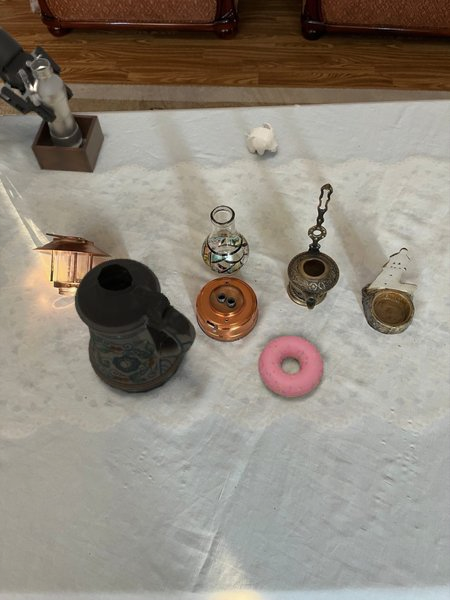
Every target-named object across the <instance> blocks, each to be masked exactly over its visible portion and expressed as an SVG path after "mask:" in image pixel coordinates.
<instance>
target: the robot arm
mask: <svg viewBox="0 0 450 600" xmlns="http://www.w3.org/2000/svg"><path fill="white" fill-rule="evenodd" d="M40 58H44V59H47V60H48V61H49V63H50V65H51V67H52V69H53V73H54V74H56V75H57V76H58V77H60V74H61V72H62V68H61V67H60V66H59V64H57V62H56V61H55V60H54V59H53V58H52V57H51V56H50V54H48V52H46V51H45V49H44V48H43V47H42V46H40V45H37V46H36V47H35V48H34V49H33V51H32V52H30V53H29V52H27V51H25V50H24V49H23V47H22V45H21V43H19V42H18V41H17V40H16V39H15V38H14V37H13V36H12V35H10V34H9V32H7V31H6V30H5V29H4V28H3V27H2V26H1V25H0V79H1V81H2V82H3V84H4V85H3V86H2V87H1V89H0V99H1V100H3V102H5V103H7V104H8V105H9V106H11V107H12V108H14V109H16V110H17V111H18V112H19V113H21V114H22V115H25V116H26V115H28V114H29V113H32V112H34V113H35V114H37V115H38V116H39V117H40V118H41V119H42V120H43V119H44V120H45V121H46V122H50V123H52V122H54V121H55V119H56V118H57V116H56V115H55V114H54V113H52V112H51V111H50V110H49V109H48V108H47V107H46V106H44V105H43V104H42V103H41V104H40V103H39V101H38V99H37V98H36V97H35V94H34V89H33V87H32V85H33V81H34V79H35V78H34V77H33V74H32V70H31V67H30V65H31V63H32V62H33V61H34V60H36V59H40ZM65 87H66V92H67V98H68V102H69V101H70V100H71V99H72V98H73V96H74V93H73V90H72V89H71V88H70V87H69V86H68V85H67V84H65ZM14 90H17V92H18V93H16V92H15V91H14ZM18 94H19V95H18Z"/></svg>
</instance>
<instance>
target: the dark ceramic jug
mask: <svg viewBox="0 0 450 600" xmlns="http://www.w3.org/2000/svg"><path fill="white" fill-rule="evenodd" d="M75 290H76V291H75V295H74V307H75V311H76V314H77V316H78V317H79V319H80V320H81V321H82V322H83V323H84V325H86V326H87V328H88V332H89V340H88V349H87V350H88V351H87V352H88V358H89V362H90V365H91V367H92V369H93V372H94V373H95V374H96V375H97V377H98V378H99V379H100V380H101V381H102V382H104V383H105V384H106V385H108V386H110V387H111V388H113V389H116V390H119V391H122V392H124V393H126V394H146V393H149V392H151V391H153V390H156V389H159V388H161V387H163V386H164V385H165V384H167V382H168V381H170V379H171V378H172V377H173V376H174V375H175V374H176V373H177V372H178V370H179V367H180V365H181V363H182V361H183V357H184V354H186V353H188V351H190V349H191V348H192V346H193V345H194V343H195V340H196V335H197V334H196V328H195V325H194V324H193V323H192V321H191V320H190V319H189V318H188V317H187V316H186V315H184V314H183V313H182V312H181V311H179V310H178V309H177V308H175V307H174V305H172V304H171V302H170V300H169V298H168V297H167V295H165V293H162V287H161V284H160V280H159V278H158V276H157V275H156V273H155V272H154V271H153V270H152V269H151V267H149V266H148V265H146V264H144V263H143V262H141V261H138V260H136V259H131V258H113V259H107V260H105V261H102V262H100V263H98V264H97V265H95V266H94V267H92V268H91V269H90V270H89V271H88V272H86V273H85V275H84V276H83V277H82V279H81V280H80V282H79V284H78V286H77V288H76V289H75Z"/></svg>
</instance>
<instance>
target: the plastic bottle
mask: <svg viewBox="0 0 450 600" xmlns="http://www.w3.org/2000/svg"><path fill="white" fill-rule="evenodd" d="M30 67H31V70H32V74H33V77H34V78H35V79H34V81H33V85H32V87H33V89H34V94H35V97H36V98H37V99H38V101H39V103H40V104H41V103H42V104H43V105H44V106H46V107H47V108H48V109H49V110H50V111H51V112H52V113H54V114H55V115H56V116H57V118H56V119H55V121H54V122H52V123H50V122H48V126H49V129H50V135H51V139H52V142H53V143H54V146H56V147H73V148H80V146H81V145H82V141H83V139H82V133H81V130H80V128H79V126H78V125H77V123H76V121H75V119H74V117H73V115H72V114H73V113H72V110H71V107H70V103H69V101H68V98H67V92H66V87H65V85H66V83H65V82H64V80H63V79H62V78H61V77H60V76H59V77H58V76H57V75H56V74H54V73H53V69H52V67H51V65H50V63H49V61H48V60H47V59H44V58H40V59H36V60H34V61H33V62H32V63H31V65H30Z"/></svg>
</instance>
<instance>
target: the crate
mask: <svg viewBox="0 0 450 600" xmlns="http://www.w3.org/2000/svg"><path fill="white" fill-rule="evenodd" d="M72 115H73V117H74V119H75V121H76V123H77V125H78V126H79V128H80V130H81V133H82V140H84V143H83V146H82V147H78V148H73V147H56V146H55V145H54V143H53V142H52V139H51V135H50V129H49V126H48V122H46V121H45V120H44V119H42V120H41V122H40V125H39V128H38V130H37V132H36V134H35V137H34V139H33V142H32V144H31V147H30V148H31V151H32V153H33V155H34V158H35V159H36V162H37V164H38V166H39V169H40V170H43V171H58V172H59V171H60V172H75V173H90V174H91V173H94V171H95V168H96V166H97V165H96V164H97V162H98V159H99V155H100V152H101V149H102V146H103V143H104V140H105V137H104V133H103V130H102V127H101V123H100V120H99V117H98V115H92V114H76V113H74V114H73V113H72Z"/></svg>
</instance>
